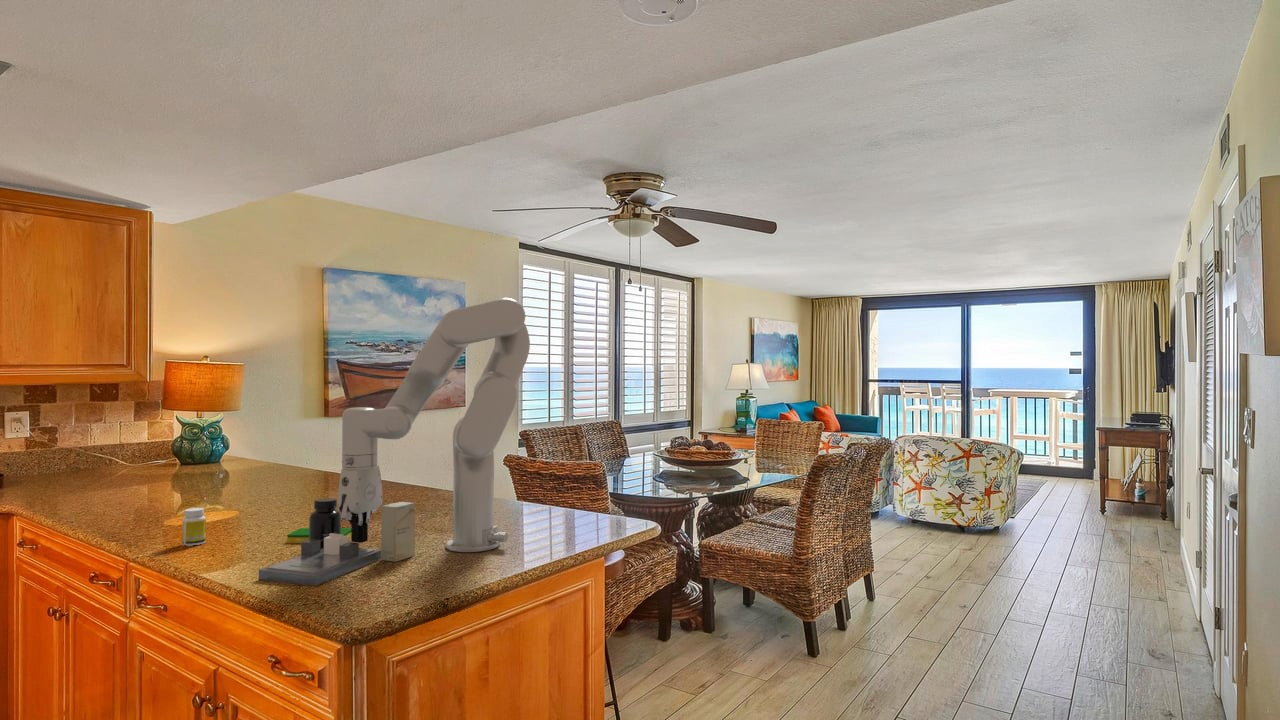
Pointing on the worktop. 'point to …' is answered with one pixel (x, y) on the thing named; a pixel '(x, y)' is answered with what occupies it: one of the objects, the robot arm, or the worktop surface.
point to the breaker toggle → (334, 543)
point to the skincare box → (398, 531)
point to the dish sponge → (303, 535)
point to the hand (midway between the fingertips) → (359, 541)
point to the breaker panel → (319, 564)
